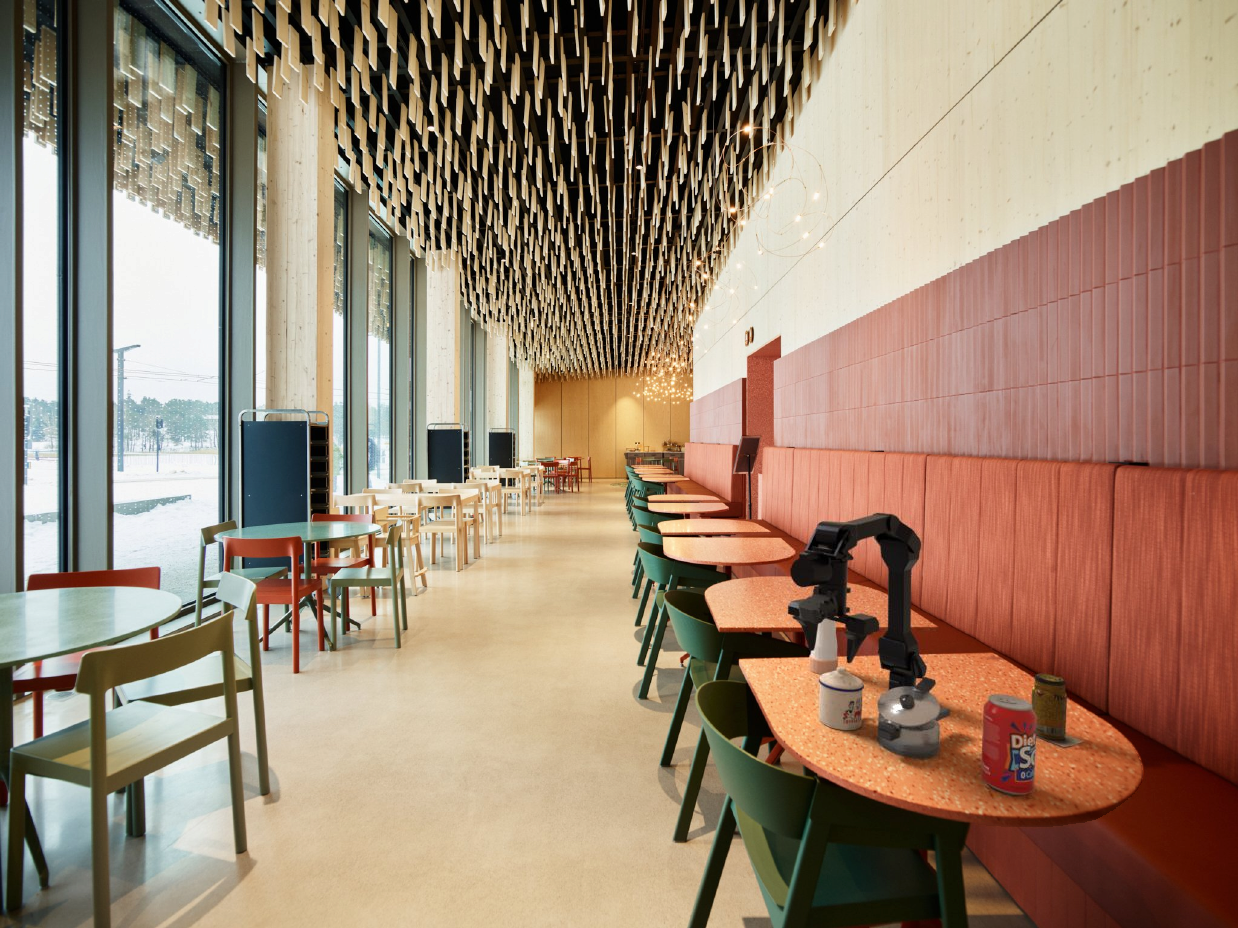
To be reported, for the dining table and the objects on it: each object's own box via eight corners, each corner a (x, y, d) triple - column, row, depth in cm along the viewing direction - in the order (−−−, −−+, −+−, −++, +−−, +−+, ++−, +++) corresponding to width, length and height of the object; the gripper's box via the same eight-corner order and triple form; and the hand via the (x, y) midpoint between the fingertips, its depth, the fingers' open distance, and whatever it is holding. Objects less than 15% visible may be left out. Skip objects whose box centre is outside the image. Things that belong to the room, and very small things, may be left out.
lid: (904, 675, 132) (902, 666, 131) (958, 692, 123) (957, 682, 122) (864, 716, 124) (862, 707, 123) (919, 738, 115) (917, 728, 114)
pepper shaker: (811, 663, 170) (813, 594, 170) (839, 668, 167) (841, 597, 166) (806, 671, 163) (809, 599, 163) (835, 677, 160) (838, 602, 160)
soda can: (977, 770, 113) (980, 689, 113) (1028, 780, 110) (1031, 696, 110) (984, 792, 106) (987, 704, 106) (1038, 803, 103) (1042, 713, 103)
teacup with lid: (849, 735, 126) (851, 678, 126) (809, 720, 133) (811, 666, 133) (876, 719, 135) (878, 666, 134) (837, 706, 141) (838, 655, 141)
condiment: (1040, 725, 134) (1043, 669, 134) (1084, 742, 127) (1086, 683, 126) (1019, 730, 131) (1022, 674, 131) (1063, 748, 124) (1065, 688, 123)
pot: (917, 719, 135) (918, 692, 135) (970, 739, 126) (971, 710, 126) (857, 744, 123) (858, 715, 122) (911, 768, 114) (912, 736, 113)
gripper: (771, 577, 133) (769, 650, 133) (848, 595, 118) (845, 677, 118) (805, 573, 140) (802, 642, 140) (882, 589, 124) (879, 667, 125)
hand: (829, 656), depth 130 cm, fingers open, 9 cm apart
